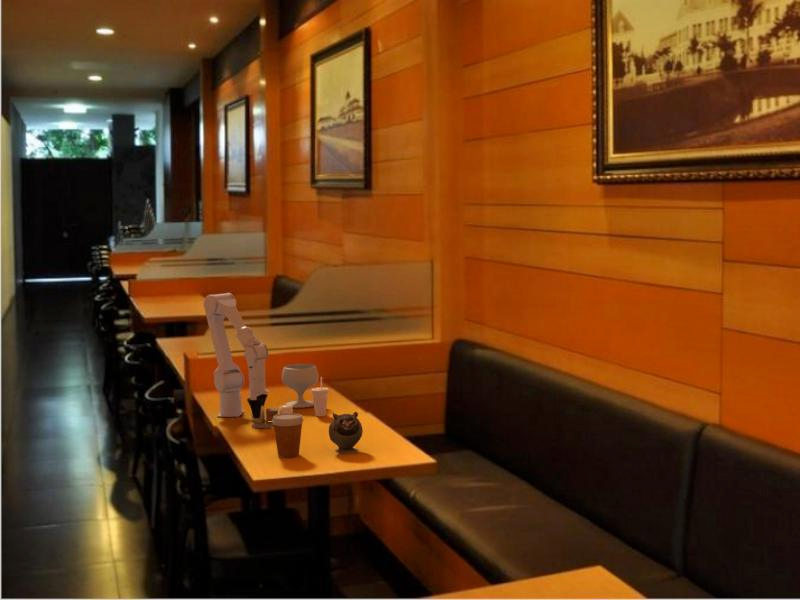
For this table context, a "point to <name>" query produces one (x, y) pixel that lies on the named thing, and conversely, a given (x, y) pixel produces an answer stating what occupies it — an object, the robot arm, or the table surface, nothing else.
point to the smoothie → (320, 399)
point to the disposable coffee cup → (288, 433)
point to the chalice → (300, 381)
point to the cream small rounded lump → (286, 409)
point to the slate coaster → (263, 424)
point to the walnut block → (271, 413)
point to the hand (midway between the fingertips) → (258, 416)
